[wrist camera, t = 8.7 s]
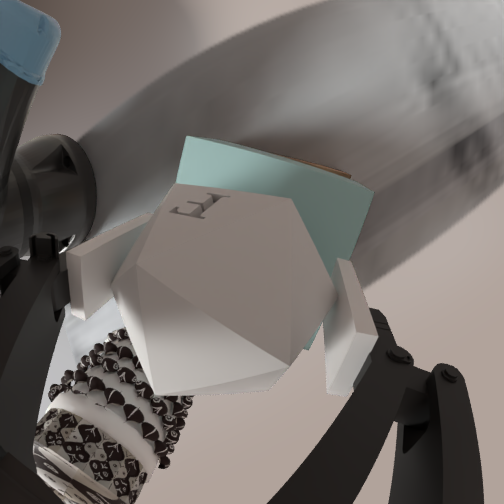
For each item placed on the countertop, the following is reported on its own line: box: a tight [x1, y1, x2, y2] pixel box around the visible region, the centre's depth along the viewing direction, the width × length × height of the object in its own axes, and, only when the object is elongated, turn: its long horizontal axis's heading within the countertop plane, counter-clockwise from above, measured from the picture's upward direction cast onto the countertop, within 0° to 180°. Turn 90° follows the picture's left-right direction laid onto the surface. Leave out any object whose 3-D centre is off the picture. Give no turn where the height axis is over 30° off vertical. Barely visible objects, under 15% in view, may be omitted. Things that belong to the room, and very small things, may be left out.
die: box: [111, 183, 338, 396], centre depth 12 cm, size 8×9×10 cm
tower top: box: [176, 136, 375, 350], centre depth 20 cm, size 10×10×6 cm
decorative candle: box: [33, 327, 195, 504], centre depth 21 cm, size 9×9×25 cm
